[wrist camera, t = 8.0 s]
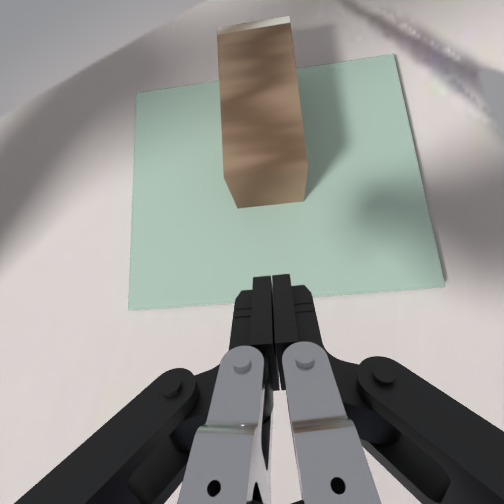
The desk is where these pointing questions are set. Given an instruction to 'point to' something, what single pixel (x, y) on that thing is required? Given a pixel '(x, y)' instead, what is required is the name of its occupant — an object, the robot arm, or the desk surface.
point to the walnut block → (261, 114)
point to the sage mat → (281, 215)
